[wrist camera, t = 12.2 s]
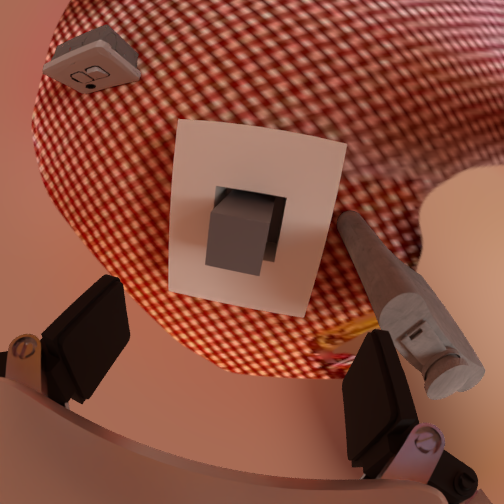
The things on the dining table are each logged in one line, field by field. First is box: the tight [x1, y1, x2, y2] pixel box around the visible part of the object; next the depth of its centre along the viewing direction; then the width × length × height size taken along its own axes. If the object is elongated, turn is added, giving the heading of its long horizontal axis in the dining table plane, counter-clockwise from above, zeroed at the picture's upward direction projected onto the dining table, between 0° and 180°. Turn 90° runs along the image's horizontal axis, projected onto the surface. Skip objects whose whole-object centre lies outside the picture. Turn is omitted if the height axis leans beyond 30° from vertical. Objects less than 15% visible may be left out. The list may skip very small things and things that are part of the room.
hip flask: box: [337, 211, 485, 400], centre depth 22 cm, size 16×4×20 cm, turn 54°
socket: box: [168, 119, 347, 318], centre depth 28 cm, size 15×18×6 cm
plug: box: [205, 189, 275, 276], centre depth 26 cm, size 4×4×10 cm
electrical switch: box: [43, 24, 141, 94], centre depth 22 cm, size 9×5×9 cm, turn 89°
